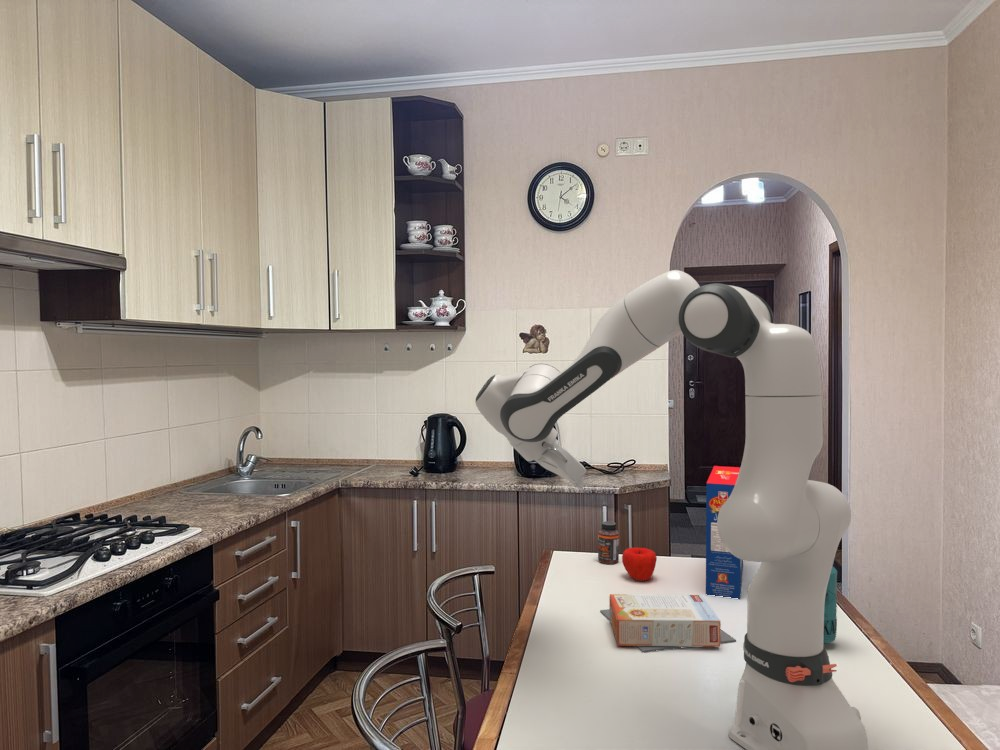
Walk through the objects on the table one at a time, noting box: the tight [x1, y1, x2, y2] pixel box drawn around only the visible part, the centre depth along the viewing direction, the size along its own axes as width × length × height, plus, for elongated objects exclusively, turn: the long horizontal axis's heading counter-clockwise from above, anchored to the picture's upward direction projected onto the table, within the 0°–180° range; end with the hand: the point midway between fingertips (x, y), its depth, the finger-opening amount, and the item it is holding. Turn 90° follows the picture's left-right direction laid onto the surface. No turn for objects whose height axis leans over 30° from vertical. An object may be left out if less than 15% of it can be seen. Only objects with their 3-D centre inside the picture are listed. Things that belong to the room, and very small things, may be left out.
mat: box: [600, 608, 737, 653], centre depth 146 cm, size 22×21×1 cm
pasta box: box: [705, 465, 744, 600], centre depth 176 cm, size 28×8×28 cm, turn 158°
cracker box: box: [608, 593, 722, 648], centre depth 141 cm, size 14×6×21 cm
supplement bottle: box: [597, 520, 620, 565], centre depth 192 cm, size 6×6×11 cm
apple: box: [621, 547, 658, 582], centre depth 177 cm, size 9×9×8 cm
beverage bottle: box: [823, 566, 838, 644], centre depth 136 cm, size 6×7×20 cm
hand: (580, 485), depth 140 cm, fingers closed
